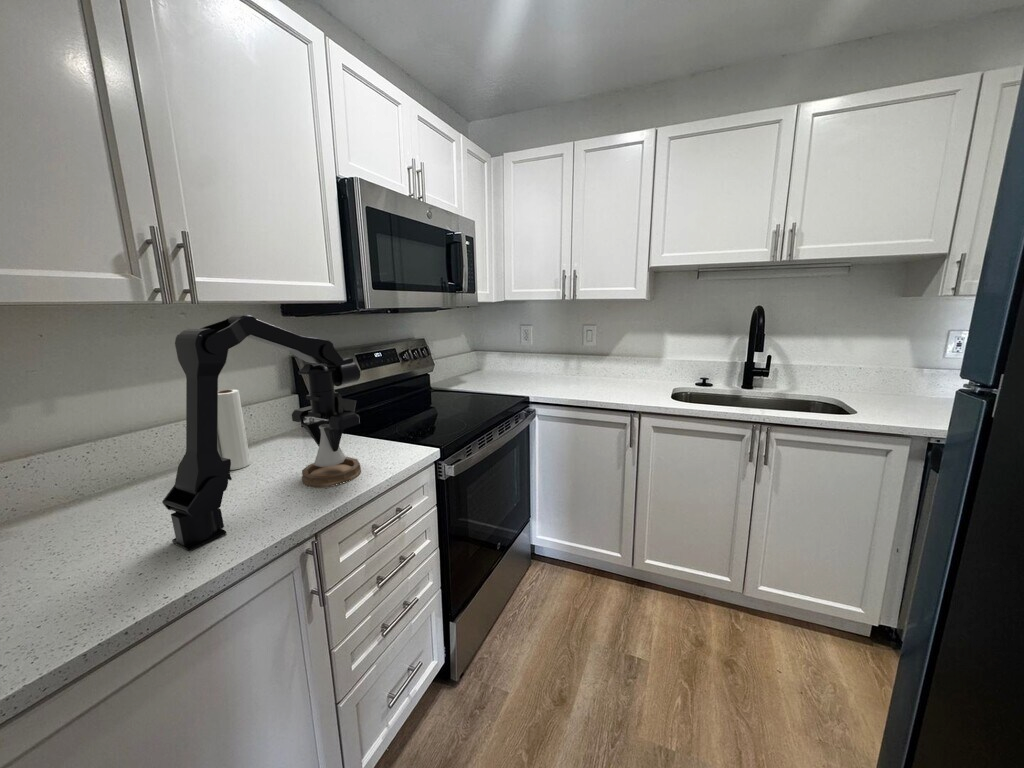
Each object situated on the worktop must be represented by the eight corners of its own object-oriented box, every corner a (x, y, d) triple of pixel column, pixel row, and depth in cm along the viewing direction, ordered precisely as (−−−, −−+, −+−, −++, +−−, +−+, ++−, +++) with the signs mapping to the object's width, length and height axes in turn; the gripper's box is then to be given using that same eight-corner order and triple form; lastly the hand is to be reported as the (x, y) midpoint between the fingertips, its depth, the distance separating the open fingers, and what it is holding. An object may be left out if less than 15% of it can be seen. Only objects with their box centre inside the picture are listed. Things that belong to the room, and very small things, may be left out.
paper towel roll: (253, 460, 116) (241, 388, 112) (247, 468, 111) (234, 392, 106) (224, 464, 114) (211, 390, 110) (216, 472, 108) (202, 394, 104)
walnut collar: (326, 491, 96) (325, 482, 95) (290, 480, 102) (288, 472, 102) (372, 470, 108) (371, 461, 107) (337, 461, 114) (336, 453, 114)
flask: (334, 468, 100) (329, 430, 98) (308, 467, 101) (303, 429, 100) (351, 458, 107) (347, 421, 105) (326, 457, 108) (322, 420, 106)
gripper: (374, 386, 103) (379, 445, 106) (325, 381, 112) (331, 435, 115) (336, 395, 93) (343, 459, 96) (287, 389, 102) (294, 448, 105)
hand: (328, 449), depth 104 cm, fingers closed on flask, 5 cm apart
